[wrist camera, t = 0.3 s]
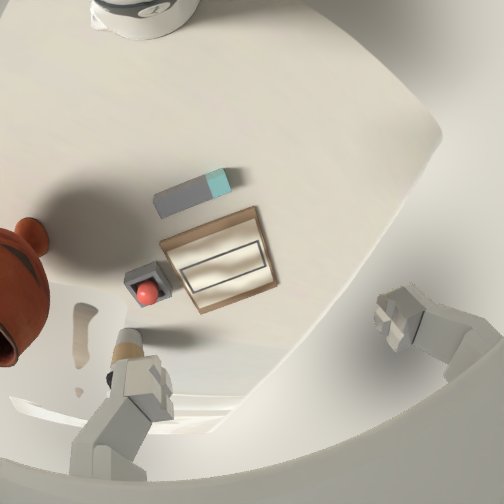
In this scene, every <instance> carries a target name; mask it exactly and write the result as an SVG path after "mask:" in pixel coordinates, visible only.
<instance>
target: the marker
mask: <svg viewBox="0 0 504 504" xmlns="http://www.w3.org/2000/svg"><path fill="white" fill-rule="evenodd" d="M229 192H231V189H230V186H229V183H228V180H227V177H226V174H225V172H224V170H223V168H221V169H218V170H215V171H213V172H210V173H207V174H205V175H202V176H199V177H197V178H194V179H192V180H189V181H187V182H184V183H182V184H179V185H177V186H174V187H172V188H169V189H167V190H165V191H162V192H160V193H157V194H155V195H154V200H153V203H154V205H155V207H156V209H157V211H158V213H159V216H160V218H161V219H162V218H165V217H167V216H170V215H172V214H175V213H177V212H180V211H182V210H185V209H187V208H190V207H192V206H195V205H197V204H200V203H202V202H205V201H208V200H210V199H213V198H216V197H218V196H221V195H224V194H226V193H229Z"/></svg>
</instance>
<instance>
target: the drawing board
mask: <svg viewBox="0 0 504 504" xmlns="http://www.w3.org/2000/svg"><path fill="white" fill-rule="evenodd" d="M159 244H160V246H161V248H162V250H163V252H164V253H165V255H166V257H167V259H168V261H169V262H170V264H171V266H172V268H173V269H174V271H175V273H176V275H177V276H178V278H179V280H180V281H181V283H182V285H183V286H184V288H185V290H186V291H187V293H188V295H189V296H190V298H191V300H192V301H193V303H194V305H195V306H196V308H197V309H198V311H199V313H200V314H204V313H207V312H210V311H213V310H215V309H218V308H221V307H224V306H227V305H229V304H232V303H235V302H237V301H240V300H243V299H246V298H248V297H251V296H254V295H256V294H259V293H262V292H264V291H267V290H269V289H272V288H275V287H277V283H276V279H275V276H274V273H273V269H272V266H271V262H270V259H269V255H268V252H267V249H266V245H265V242H264V238H263V235H262V232H261V228H260V225H259V222H258V218H257V215H256V212H255V208H254V206H252V207H249V208H246V209H244V210H241V211H238V212H235V213H233V214H230V215H227V216H225V217H222V218H219V219H217V220H214V221H211V222H209V223H206V224H204V225H201V226H198V227H196V228H193V229H191V230H188V231H186V232H183V233H180V234H178V235H175V236H173V237H170V238H168V239H165V240H163V241H161V242H160V243H159Z"/></svg>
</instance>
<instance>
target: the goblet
mask: <svg viewBox="0 0 504 504" xmlns="http://www.w3.org/2000/svg"><path fill="white" fill-rule="evenodd" d="M48 245H49V240H48V236H47V233H46V232H45V230H44V228H43V226H42V225H41V224H40V223H39V222H38V221H36V220H35V219H32V218H25V219H22V220H20V221H19V222H18V223H17V225H16V228H15V232H12V231H9V230H6V229H3V228H0V367H11V366H14V365H15V364H16V363H17V361H18V357H19V356H20V355H21V354H22V352H24V350H25V349H26V348H27V347H29V346H30V344H31V343H32V342H33V341H34V340H35V339H36V338H37V337H38V335H39V334H40V332H41V330H42V328H43V327H44V325H45V323H46V320H47V318H48V313H49V308H50V290H49V284H48V280H47V277H46V274H45V271H44V268H43V265H42V263H41V261H40V259H39V257H41V256H43V255H44V254H45V253H46V252H47V250H48Z"/></svg>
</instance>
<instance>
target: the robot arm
mask: <svg viewBox="0 0 504 504" xmlns="http://www.w3.org/2000/svg"><path fill="white" fill-rule="evenodd" d="M88 1H89V2H91V24H92V27H93V28H94V29H95V30H101V31H112V32H114V33H116V34H118V35H120V36H122V37H125V38H128V39H133V40H148V39H154V38H158V37H161V36H164V35H166V34H169V33H171V32H173V31H174V30H176V29H178V28H179V27H181V26H182V25H183V24H184V23H185V22H186V21H188V19H189V18H190V17H191V16H192V15H193V13H194V12H195V10H196V8H197V6H198V3H199V1H200V0H88ZM377 304H378V305H379V307H378V308H377V309H376V311H375V315H374V321H375V325H376V327H377V329H378V331H379V332H380V333H381V334H383V335H386V336H387V342H388V344H389V345H390V346H391V347H392V349H393V350H394V351H395V352H398V351H400V350H402V349H405V348H406V347H409V346H411V345H412V346H413V347H415V348H417V349H419V350H421V351H423V352H425V353H427V354H429V355H431V356H433V357H435V358H437V359H439V360H441V361H443V362H445V363H447V364H449V365H448V367H447V368H446V370H445V371H444V374H443V376H444V378H445V379H446V380H447V381H448V384H447V385H445V386H444V387H442V388H441V389H439V390H438V391H436V392H435V393H433V394H432V395H430V396H429V397H427V398H426V399H424V400H423V401H421V402H420V403H418V404H416V405H415V406H413V407H411V408H410V409H408V410H406V411H404V412H403V413H401V414H399V415H397V416H396V417H394V418H392V419H390V420H388V421H386V422H384V423H382V424H381V425H378V426H377V427H374V428H373V429H370V430H368V431H366V432H364V433H362V434H360V435H357V436H355V437H353V438H351V439H348V440H346V441H343V442H341V443H339V444H336V445H334V446H331V447H328V448H326V449H323V450H320V451H318V452H315V453H312V454H309V455H306V456H303V457H300V458H296V459H293V460H290V461H286V462H283V463H279V464H276V465H272V466H268V467H264V468H260V469H255V470H250V471H246V472H241V473H235V474H230V475H223V476H217V477H210V478H201V479H192V480H180V481H160V482H159V481H158V482H147V476H146V471H145V470H144V469H143V468H141V467H139V466H138V465H136V464H134V463H133V460H134V458H135V456H136V454H137V452H138V450H139V448H140V446H141V444H142V443H143V441H144V439H145V437H146V435H147V433H148V431H149V429H150V427H151V425H152V423H151V422H159V421H166V420H173V419H174V412H173V403H172V402H171V400H170V399H169V398H170V396H171V395H172V384H171V380H170V377H169V374H168V372H167V371H166V369H164V368H162V367H161V360H160V359H159V357H158V356H157V355H152V356H145V357H137V358H129V359H122V360H117V361H116V362H115V365H114V371H113V378H112V385H111V392H110V398H106V399H105V401H104V402H103V403H102V404H101V406H100V407H99V409H97V411H96V412H95V413H94V415H93V416H92V417H91V418H90V420H89V421H88V422H87V424H86V425H85V426H84V428H83V429H82V430H81V431H80V433H79V434H78V436H77V437H76V438H75V439H74V441H73V442H72V447H71V457H70V471H69V475H66V474H60V473H55V472H51V471H46V470H42V469H38V468H34V467H30V466H27V465H23V464H20V463H17V462H14V461H11V460H8V459H5V458H0V504H504V337H503V336H502V335H501V334H500V333H498V331H497V330H496V329H495V328H494V327H493V326H491V324H490V323H489V322H488V321H487V320H486V319H484V318H481V317H478V316H475V315H472V314H469V313H466V312H463V311H460V310H457V309H454V308H450V307H447V306H444V305H441V304H437V305H436V304H435V303H434V302H433V301H431V299H429V298H428V297H427V296H426V295H425V294H424V293H422V291H421V290H420V289H419V288H417V287H416V286H415V285H414V284H413V283H407V284H405V285H402V286H400V287H397V288H395V289H392V290H390V291H387V292H385V293H382V294H380V295H379V296H378V299H377Z"/></svg>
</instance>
